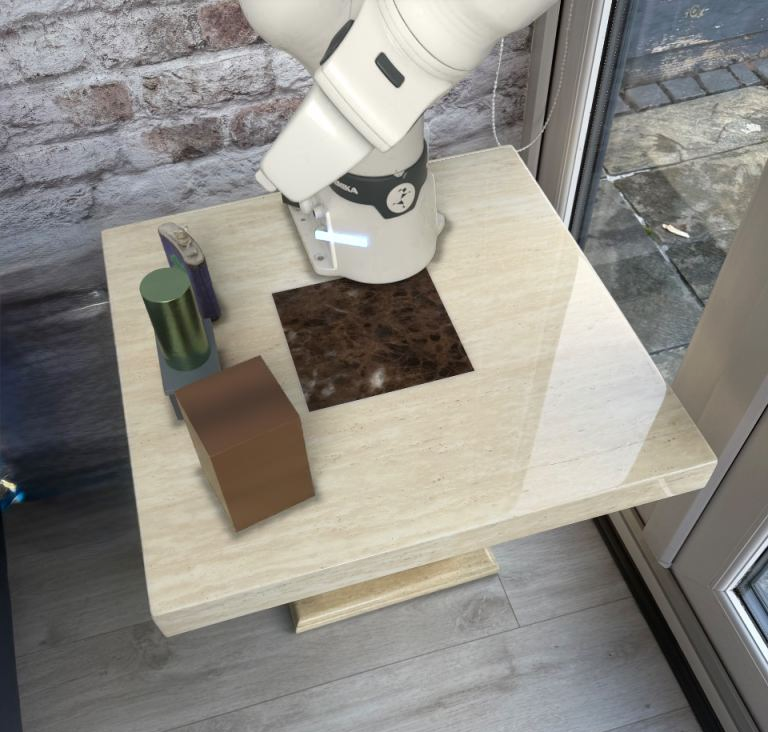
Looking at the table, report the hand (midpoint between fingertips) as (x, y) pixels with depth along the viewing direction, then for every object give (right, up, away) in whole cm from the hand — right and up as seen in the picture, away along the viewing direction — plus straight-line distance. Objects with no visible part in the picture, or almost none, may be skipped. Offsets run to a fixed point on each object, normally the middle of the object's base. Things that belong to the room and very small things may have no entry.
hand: (289, 143), depth 65 cm
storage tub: (-14, -14, +31) cm, 37 cm away
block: (-6, -26, +23) cm, 35 cm away
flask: (-16, -3, +39) cm, 42 cm away
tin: (-14, -12, +27) cm, 32 cm away
